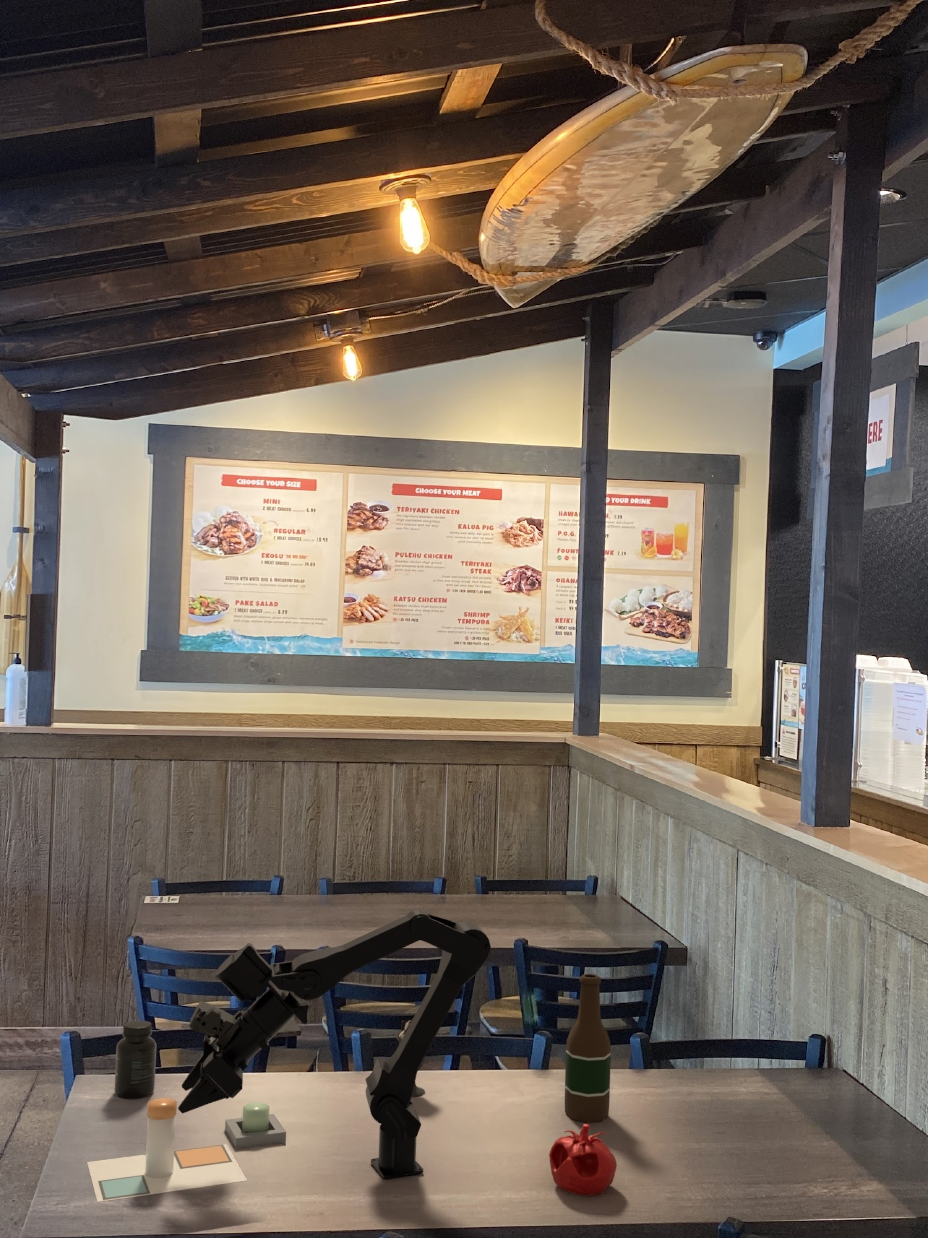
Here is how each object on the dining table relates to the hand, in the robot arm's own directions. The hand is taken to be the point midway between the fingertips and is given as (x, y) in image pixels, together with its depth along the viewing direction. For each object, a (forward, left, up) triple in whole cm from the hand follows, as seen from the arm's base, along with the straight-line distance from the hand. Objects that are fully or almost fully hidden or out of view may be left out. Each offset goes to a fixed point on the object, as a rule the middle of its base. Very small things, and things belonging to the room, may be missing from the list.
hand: (181, 1099), depth 173 cm
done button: (+10, -14, -10) cm, 19 cm away
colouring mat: (+1, +2, -11) cm, 12 cm away
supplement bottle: (+38, +1, -12) cm, 39 cm away
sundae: (+23, -46, -12) cm, 52 cm away
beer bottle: (+3, -71, -12) cm, 72 cm away
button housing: (+10, -14, -11) cm, 20 cm away
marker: (+1, +3, -10) cm, 11 cm away
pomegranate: (-22, -56, -12) cm, 61 cm away
